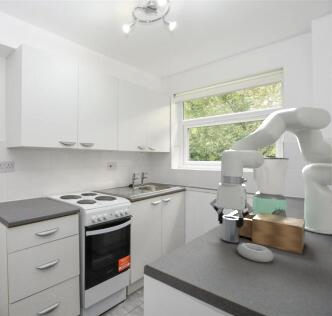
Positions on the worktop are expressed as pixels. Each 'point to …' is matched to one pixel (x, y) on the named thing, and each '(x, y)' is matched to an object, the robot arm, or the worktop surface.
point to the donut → (255, 252)
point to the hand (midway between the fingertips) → (230, 224)
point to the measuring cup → (230, 229)
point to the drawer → (245, 224)
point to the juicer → (270, 187)
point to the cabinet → (279, 232)
